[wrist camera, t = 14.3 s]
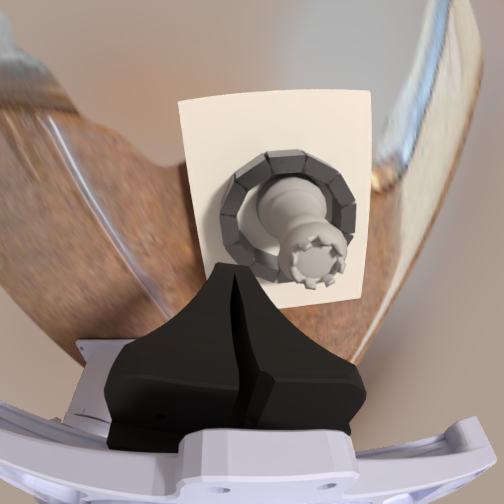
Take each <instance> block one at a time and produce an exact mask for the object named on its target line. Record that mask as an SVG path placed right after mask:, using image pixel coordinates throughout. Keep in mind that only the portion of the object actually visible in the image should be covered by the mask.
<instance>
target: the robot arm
mask: <svg viewBox="0 0 504 504" xmlns="http://www.w3.org/2000/svg"><path fill="white" fill-rule="evenodd" d="M76 346H77V347H78V349H79V351H80V353H81V354H82V356H83V358H84V359H85V361H86V366H85V368H84V370H83V373H82V375H81V378H80V381H79V383H78V385H77V388H76V391H75V393H74V396H73V399H72V401H71V404H70V407H69V409H68V412H66V415H65V418H64V420H63V423H61V419H59V418H57V417H55V418H54V419H51V420H47V419H44V418H41V417H38V416H36V415H33V414H31V413H28V412H26V411H24V410H21V409H19V408H16V407H14V406H12V405H10V404H7V403H5V402H3V401H1V400H0V478H1V479H3V480H5V481H6V482H8V483H10V484H12V485H14V486H15V487H17V488H19V489H21V490H23V491H25V492H27V493H29V494H31V495H32V496H33V497H34V499H35V500H36V501H37V503H38V504H427V503H429V502H431V501H434V500H436V499H439V498H441V497H443V496H446V495H448V494H450V493H452V492H454V491H457V490H458V489H460V488H461V487H463V486H464V485H466V484H468V483H469V482H470V481H471V480H473V479H475V478H476V477H477V476H479V475H480V474H482V473H483V472H484V471H486V470H487V469H488V468H490V467H491V466H492V465H494V464H495V463H496V462H497V458H496V456H495V454H494V451H493V449H492V447H491V445H490V443H489V441H488V439H487V437H486V435H485V433H484V431H483V429H482V427H481V425H480V423H479V421H478V419H477V417H476V416H472V417H469V418H465V419H462V420H459V421H457V422H455V423H454V424H452V425H451V426H450V427H449V428H448V429H447V430H446V431H445V432H444V434H440V435H436V436H433V437H429V438H425V439H421V440H417V441H412V442H408V443H403V444H398V445H393V446H388V447H382V448H377V449H370V450H364V451H357V452H354V449H353V445H352V441H351V438H350V437H349V435H350V434H351V429H350V426H349V422H350V421H351V420H352V418H353V417H354V416H355V415H356V413H357V412H358V411H359V409H360V408H361V406H362V405H363V403H364V402H365V400H366V390H365V387H364V385H363V381H362V379H361V376H360V374H359V372H358V370H357V368H356V365H354V364H352V363H350V362H348V361H346V360H344V359H342V358H340V357H338V356H336V355H334V354H333V353H331V352H329V351H328V350H326V349H325V348H323V347H321V346H320V345H318V344H317V343H316V342H314V341H313V340H311V339H310V338H309V337H307V336H306V335H305V334H304V333H302V332H301V331H300V330H299V329H298V328H296V327H295V326H294V325H293V324H292V323H291V322H290V321H289V320H288V319H287V318H286V317H285V316H284V315H283V314H282V313H281V312H280V311H279V309H278V308H277V307H276V306H275V305H274V303H273V302H272V301H271V300H270V298H269V297H268V295H267V294H266V293H265V291H264V290H263V288H262V287H261V285H260V284H259V282H258V280H257V279H256V277H255V275H254V274H253V272H252V270H251V269H250V267H249V266H244V265H236V264H229V263H222V262H217V263H216V264H215V265H214V269H213V271H212V273H211V275H210V276H209V278H208V280H207V281H206V282H205V284H204V285H203V287H202V288H201V290H200V291H199V292H198V293H197V294H196V296H195V297H194V298H193V299H192V300H191V301H190V302H189V303H188V304H187V305H186V306H185V307H184V308H183V309H182V310H181V311H180V312H179V313H178V314H177V315H175V316H174V317H173V318H172V319H170V320H169V321H168V322H166V323H165V324H164V325H162V326H160V327H159V328H157V329H156V330H154V331H152V332H151V333H149V334H147V335H146V336H143V337H141V338H139V339H127V340H80V339H79V340H77V341H76Z"/></svg>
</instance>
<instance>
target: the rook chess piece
mask: <svg viewBox="0 0 504 504" xmlns="http://www.w3.org/2000/svg"><path fill="white" fill-rule="evenodd" d="M256 209H257V214H258V218H259V220H260V223H261V225H262V226H263V227H264V229H265V230H266V231H267V233H268V234H269V235H271V236H272V237H274V238H276V239H278V240H279V245H280V250H279V254H278V259H279V265H280V269H281V270H282V271H283V273H284V274H285V275H286V276H287V278H289V279H291V280H293V281H295V282H296V284H298V283H299V284H304V286H305V289H311V290H316V284H317V283H322V282H324V283H325V286H326V288H327V287H328V286H330V285H332V284H333V283H335V280H334V277H333V276H335V274H336V273H337V272H338V273H341V274H343V272H344V269H345V267H346V263H345V259H346V256H347V241H346V239H345V238H344V236H343V234H342V232H341V231H340V230H338V229H337V228H336V227H334V226H333V225H331V224H329V222H328V221H327V220H326V219H325V216H326V213H327V209H326V200H325V196H324V195H323V193H322V191H321V189H320V188H319V186H318V184H317V183H316V181H314V180H313V179H311V178H310V177H308V176H307V175H305V174H301V173H283V174H278V175H276V176H275V177H273V178H271V179H270V180H268V181H267V182H266V183H265V184H264V186H263V187H262V189H261V190H260V192H259V193H258V198H257V202H256Z"/></svg>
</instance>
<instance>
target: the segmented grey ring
mask: <svg viewBox="0 0 504 504" xmlns="http://www.w3.org/2000/svg"><path fill="white" fill-rule="evenodd" d="M266 155H267V158H266V157H265V155H264V154H263V153H261V154H260V155H258V156H257V157H255V158H254V159H252V160H251V161H250V162H248V163H247V164H245V165H244V166H242V167H241V168H239V169H238V170H237V171H236V174H233V176H232V178H231V181H230V183H229V185H228V187H227V189H226V192H225V194H224V196H223V198H222V200H221V206H220V214H219V218H220V225H221V232H222V239H223V246H225V250H226V251H227V252H228V253H229V255H230V256H231V257H232V258H233V259H234V260H235V262H236V263H237V264H238V265H244V266H249V267H250V269H251V270H252V272H253V274H254V275H255V276H256V277H258V278H261V279H264V280H267V281H269V282H272V283H275V281H276V279H277V283H278V284H279V283H288V282H295V281H293V280H291V279H289V278H287V276H286V275H285V274H284V273H283V271H282V270H281V269H280V265H279V259H278V256H275V255H272V254H270V253H267V252H265V251H262V250H260V249H257V248H254V247H253V246H252V244H251V243H250V242H249V241H248V239H247V238H246V237H245V236H244V235H243V233H242V232H241V231H240V230H239V224H238V216H237V214H238V212H239V210H240V208H241V206H242V204H243V201H244V199H245V197H246V195H247V193H248V191H249V190H251V189H252V188H254V187H255V186H257V185H258V184H260V183H261V182H263V181H264V180H266V179H267V178H269V177H270V176H272V175H273V174H283V173H297V172H304V173H306V174H308V175H310V176H312V177H314V178H316V179H318V180H320V181H322V182H324V184H325V185H326V187H327V189H328V190H329V192H330V194H331V195H332V221H331V223H330V224H331V225H333V226H334V227H336V228H337V229H338V230H340V231H341V232H342V234H343V236H344V238H345V239H346V241H347V247H348V245H349V244H350V242H351V240H352V239H353V237H354V236H353V234H352V233H355V226H356V206H357V204H356V203H355V202H354V201H356V200H355V198H354V196H353V194H352V192H351V191H350V189H349V187H348V185H347V184H346V182H345V180H344V178H343V177H342V175H341V173H339V172H338V171H337V170H336V169H335V168H334V167H332V166H331V165H330V164H328V163H326V162H325V161H323V160H321V159H319V158H317V157H315V156H313V155H311V154H309V153H307V152H305V151H303V150H302V151H300V150H299V149H292V150H277V151H266Z"/></svg>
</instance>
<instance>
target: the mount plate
mask: <svg viewBox="0 0 504 504" xmlns="http://www.w3.org/2000/svg"><path fill="white" fill-rule="evenodd" d="M178 107H179V115H180V122H181V130H182V137H183V144H184V151H185V158H186V164H187V171H188V177H189V184H190V190H191V196H192V202H193V208H194V214H195V220H196V225H197V231H198V237H199V242H200V247H201V253H202V258H203V263H204V268H205V274H206V279H207V280H208V278H209V276H210V275H211V273H212V271H213V269H214V265H215V264H216V263H217V262H222V263H229V264H236V265H238V264H237V263H236V262H235V260H234V259H233V258H232V257H231V256H230V255H229V253H228V252H227V251H226V250H225V246H223V239H222V232H221V225H220V218H219V214H220V206H221V200H222V198H223V196H224V194H225V192H226V189H227V187H228V185H229V183H230V181H231V178H232V176H233V174H236V171H237V170H238V169H239V168H241V167H242V166H244V165H245V164H247V163H248V162H250V161H251V160H252V159H254V158H255V157H257V156H258V155H260V154H261V153H263V154H264V155H265V157H266V158H267V155H266V151H277V150H292V149H299V150H300V151H302V150H303V151H305V152H307V153H309V154H311V155H313V156H315V157H317V158H319V159H321V160H323V161H325V162H326V163H328V164H330V165H331V166H332V167H334V168H335V169H336V170H337V171H338V172H339V173H341V175H342V177H343V178H344V180H345V182H346V184H347V185H348V187H349V189H350V191H351V192H352V194H353V196H354V198H355V200H356V201H354V202H355V203H356V204H357V206H356V226H355V233H352V234H353V236H354V237H353V239H352V240H351V242H350V244H349V245H348V247H347V256H346V259H345V263H346V267H345V269H344V272H343V274H341V273H338V272H337V273H336V274H335V276H333V277H334V280H335V283H333V284H332V285H330V286H328V287H327V288H326V286H325V283H324V282H322V283H317V284H316V290H311V289H305V286H304V284H299V283H298V284H296V282H288V283H279V284H278V283H277V279H276V281H275V283H272V282H269V281H267V280H264V279H261V278H258V277H256V276H255V277H256V279H257V280H258V282H259V284H260V285H261V287H262V288H263V290H264V291H265V293H266V294H267V295H268V297H269V298H270V300H271V301H272V302H273V303H274V305H275V306H276V307H277V308H278V309H279V308H287V307H296V306H304V305H312V304H320V303H328V302H335V301H342V300H349V299H356V298H360V297H361V290H362V282H363V274H364V265H365V256H366V246H367V235H368V222H369V207H370V187H371V147H372V141H371V140H372V139H371V138H372V134H371V94H370V91H363V90H333V89H332V90H331V89H329V90H328V89H313V90H311V89H309V90H278V91H261V92H248V93H238V94H228V95H220V96H212V97H205V98H198V99H191V100H184V101H179V102H178ZM297 173H301V174H305V175H307V176H308V177H310V178H311V179H313V180H314V181H316V183H317V184H318V186H319V188H320V189H321V191H322V193H323V195H324V196H325V200H326V209H327V213H326V216H325V219H326V220H327V221H328V222H329V224H330V223H331V221H332V195H331V194H330V192H329V190H328V189H327V187H326V185H325V184H324V182H322V181H320V180H318V179H316V178H314V177H312V176H310V175H308V174H306V173H304V172H297ZM276 175H278V174H273V175H272V176H270V177H269V178H267V179H266V180H264V181H263V182H261V183H260V184H258V185H257V186H255V187H254V188H252V189H251V190H249V191H248V193H247V195H246V197H245V199H244V201H243V204H242V206H241V208H240V210H239V212H238V214H237V216H238V224H239V230H240V231H241V232H242V233H243V235H244V236H245V237H246V238H247V239H248V241H249V242H250V243H251V244H252V246H253V247H254V248H257V249H260V250H262V251H265V252H267V253H270V254H272V255H275V256H278V254H279V250H280V245H279V240H278V239H276V238H274V237H272V236H271V235H269V234H268V233H267V231H266V230H265V229H264V227H263V226H262V225H261V223H260V220H259V218H258V214H257V209H256V202H257V198H258V193H259V192H260V190H261V189H262V187H263V186H264V184H265V183H266V182H267V181H268V180H270V179H271V178H273V177H275V176H276Z"/></svg>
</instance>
